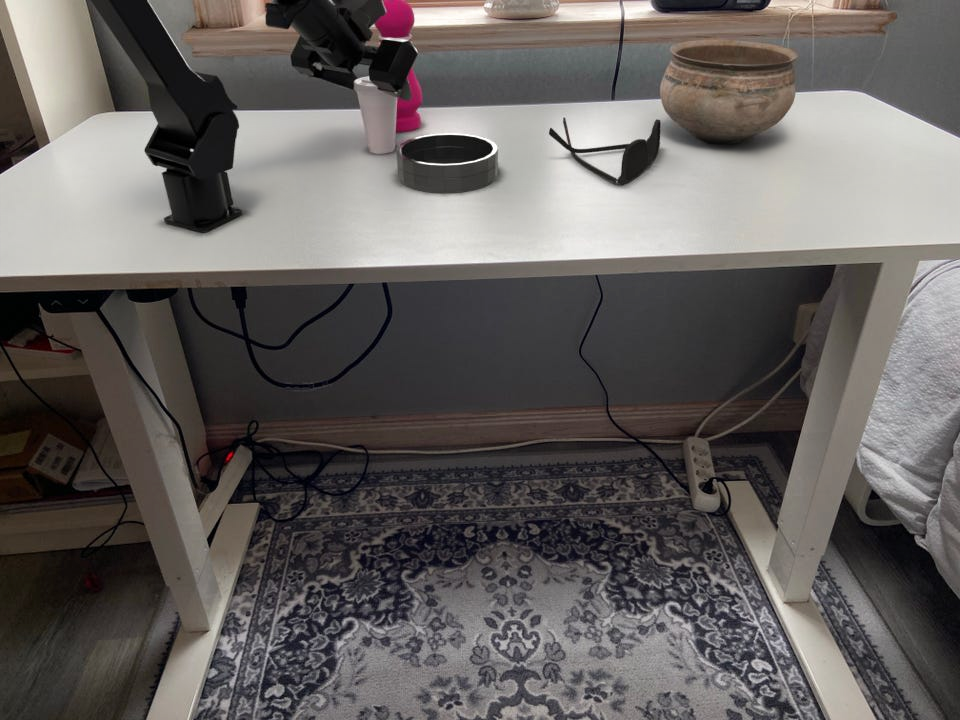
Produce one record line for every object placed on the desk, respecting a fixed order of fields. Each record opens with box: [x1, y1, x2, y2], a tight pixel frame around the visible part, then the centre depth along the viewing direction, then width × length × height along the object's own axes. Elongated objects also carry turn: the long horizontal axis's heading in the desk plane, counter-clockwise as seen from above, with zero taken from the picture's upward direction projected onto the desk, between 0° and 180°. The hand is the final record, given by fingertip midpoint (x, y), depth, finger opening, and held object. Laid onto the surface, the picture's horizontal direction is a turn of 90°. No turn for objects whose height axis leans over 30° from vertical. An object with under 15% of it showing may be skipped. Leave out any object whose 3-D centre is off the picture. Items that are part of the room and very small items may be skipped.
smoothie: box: [354, 75, 397, 155], centre depth 106 cm, size 6×6×14 cm
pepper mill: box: [373, 0, 423, 133], centre depth 114 cm, size 7×7×20 cm
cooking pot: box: [659, 39, 799, 145], centre depth 110 cm, size 25×19×12 cm
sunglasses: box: [548, 116, 662, 185], centre depth 103 cm, size 17×14×5 cm
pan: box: [395, 133, 499, 194], centre depth 99 cm, size 13×13×4 cm
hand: (384, 94), depth 106 cm, fingers open, 9 cm apart
